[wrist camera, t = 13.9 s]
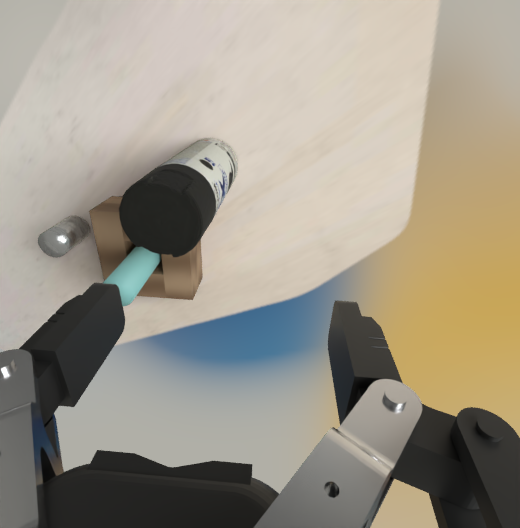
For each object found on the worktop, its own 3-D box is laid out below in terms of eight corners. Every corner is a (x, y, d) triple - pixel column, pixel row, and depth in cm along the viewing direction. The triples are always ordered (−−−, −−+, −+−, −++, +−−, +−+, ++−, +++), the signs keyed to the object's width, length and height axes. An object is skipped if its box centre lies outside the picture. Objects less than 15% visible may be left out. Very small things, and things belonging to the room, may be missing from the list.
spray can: (231, 196, 45) (196, 270, 27) (182, 181, 44) (113, 246, 26) (244, 146, 41) (213, 193, 24) (191, 129, 41) (120, 165, 23)
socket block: (111, 196, 46) (89, 211, 40) (198, 201, 45) (187, 217, 40) (125, 272, 51) (107, 293, 46) (202, 277, 51) (192, 299, 46)
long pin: (146, 226, 48) (98, 277, 35) (171, 228, 47) (131, 279, 35) (149, 249, 49) (104, 305, 37) (173, 251, 49) (136, 307, 37)
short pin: (62, 214, 48) (34, 231, 42) (87, 216, 47) (62, 232, 42) (68, 237, 49) (42, 256, 44) (92, 239, 49) (68, 258, 44)
